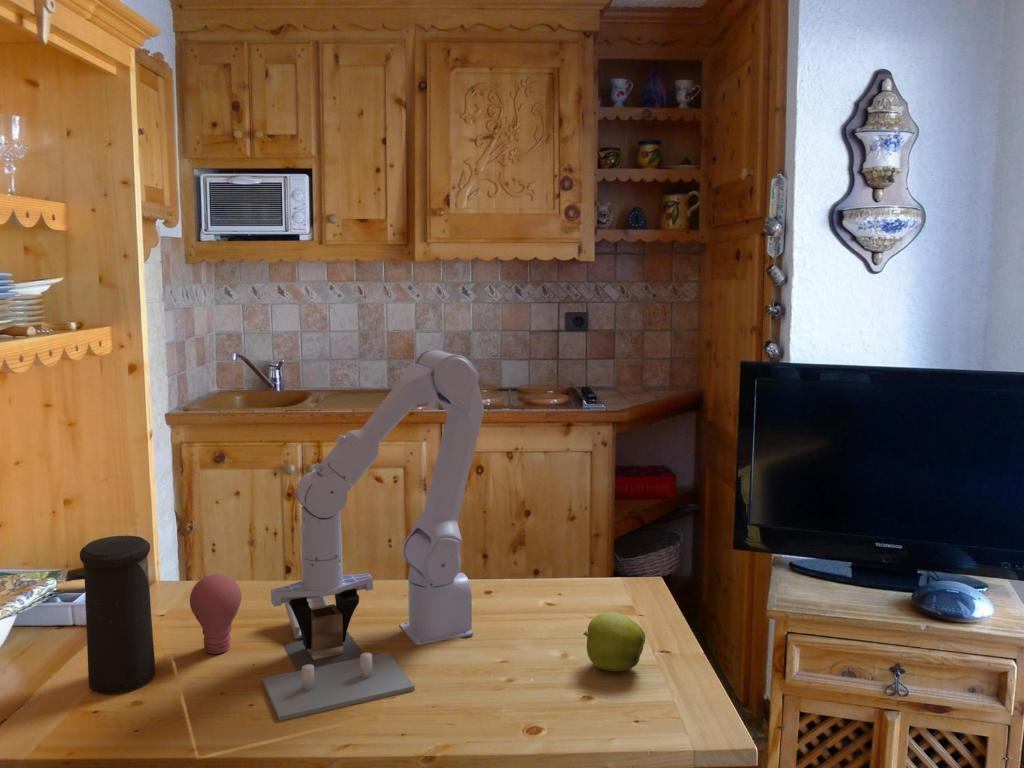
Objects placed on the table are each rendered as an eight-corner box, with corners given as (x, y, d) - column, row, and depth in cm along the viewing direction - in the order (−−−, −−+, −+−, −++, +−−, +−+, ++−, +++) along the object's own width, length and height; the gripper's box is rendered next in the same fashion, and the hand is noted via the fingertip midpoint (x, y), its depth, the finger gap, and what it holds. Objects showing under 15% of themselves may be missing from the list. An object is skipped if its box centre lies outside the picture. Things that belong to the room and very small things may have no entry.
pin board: (388, 658, 126) (387, 632, 126) (414, 692, 117) (414, 664, 116) (262, 684, 118) (261, 657, 118) (279, 723, 109) (278, 694, 108)
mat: (347, 634, 134) (347, 631, 134) (367, 661, 126) (367, 658, 125) (282, 646, 130) (282, 644, 130) (298, 675, 121) (298, 673, 121)
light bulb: (227, 666, 124) (224, 586, 122) (182, 661, 125) (178, 582, 123) (252, 644, 130) (249, 568, 129) (209, 640, 132) (205, 564, 130)
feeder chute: (321, 613, 141) (320, 581, 140) (335, 633, 133) (334, 599, 132) (284, 620, 138) (283, 587, 137) (296, 641, 131) (295, 606, 130)
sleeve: (335, 641, 131) (334, 603, 130) (343, 653, 127) (342, 614, 126) (305, 647, 129) (304, 609, 128) (313, 659, 125) (312, 620, 124)
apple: (587, 651, 130) (589, 600, 128) (648, 661, 127) (650, 609, 125) (574, 674, 122) (575, 621, 121) (637, 686, 119) (639, 631, 118)
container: (171, 671, 122) (164, 534, 119) (123, 701, 114) (114, 555, 111) (122, 661, 125) (114, 527, 122) (72, 690, 116) (62, 547, 113)
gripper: (362, 539, 132) (363, 623, 134) (265, 553, 126) (268, 641, 128) (376, 553, 126) (378, 641, 128) (275, 568, 120) (278, 661, 122)
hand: (324, 642), depth 127 cm, fingers closed on sleeve, 4 cm apart
